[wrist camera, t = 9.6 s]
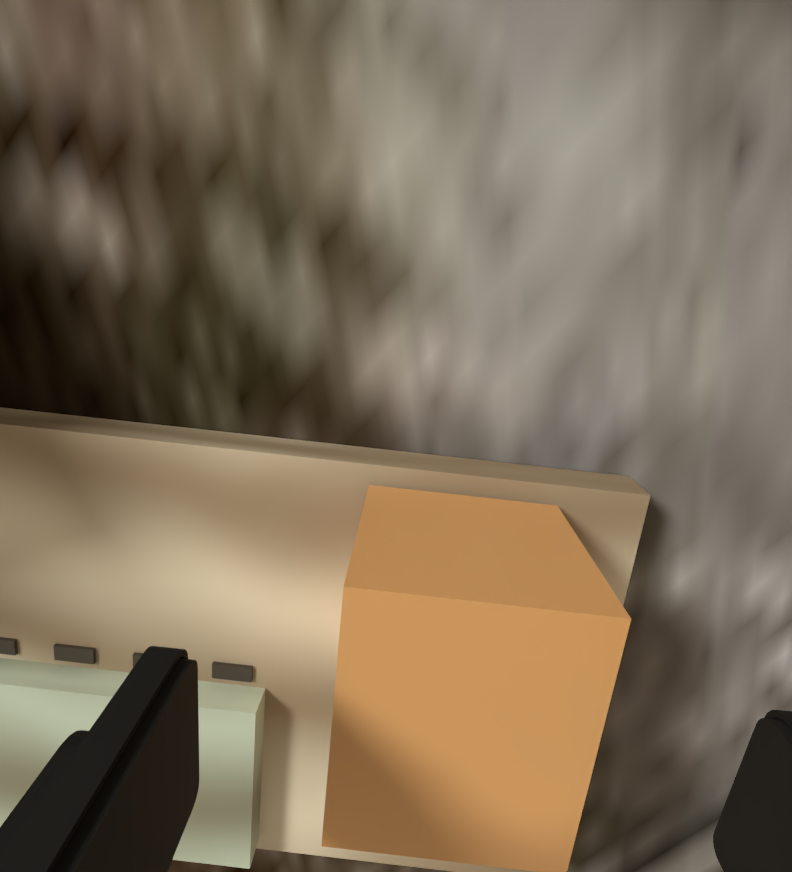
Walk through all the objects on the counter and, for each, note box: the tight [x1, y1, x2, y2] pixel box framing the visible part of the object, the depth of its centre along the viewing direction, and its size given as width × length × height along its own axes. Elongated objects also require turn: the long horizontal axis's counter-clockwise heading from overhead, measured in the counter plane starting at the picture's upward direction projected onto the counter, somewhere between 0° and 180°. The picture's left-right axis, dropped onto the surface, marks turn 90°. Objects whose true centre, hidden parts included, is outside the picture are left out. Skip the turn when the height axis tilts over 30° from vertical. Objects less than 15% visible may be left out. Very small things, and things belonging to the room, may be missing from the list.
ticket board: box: [0, 407, 651, 872], centre depth 16 cm, size 14×24×2 cm, turn 84°
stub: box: [321, 485, 631, 872], centre depth 12 cm, size 6×5×5 cm
